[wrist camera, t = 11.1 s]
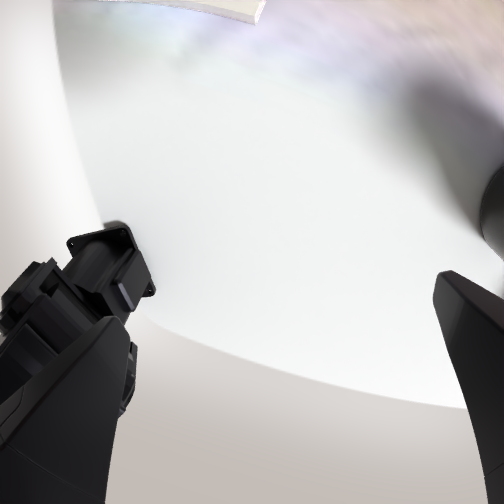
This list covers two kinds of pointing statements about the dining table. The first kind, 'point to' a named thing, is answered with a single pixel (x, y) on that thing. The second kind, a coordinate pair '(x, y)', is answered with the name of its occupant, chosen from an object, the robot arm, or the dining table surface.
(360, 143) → the dining table surface
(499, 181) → the ink bottle
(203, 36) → the dining table surface
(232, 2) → the trivet
